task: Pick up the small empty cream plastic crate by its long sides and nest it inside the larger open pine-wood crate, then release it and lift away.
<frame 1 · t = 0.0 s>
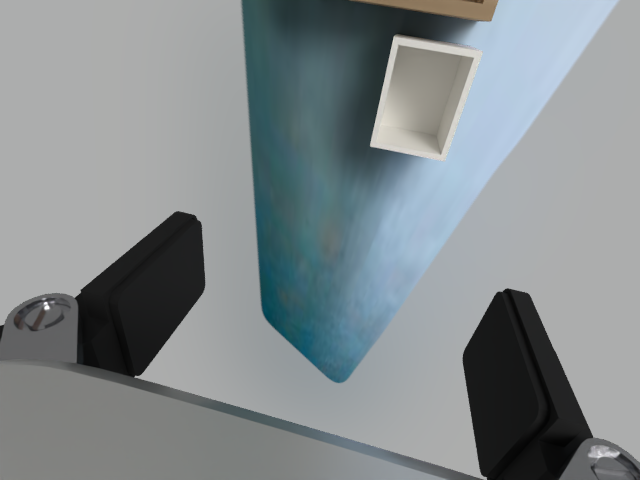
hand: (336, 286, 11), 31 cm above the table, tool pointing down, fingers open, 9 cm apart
cream crate: (419, 89, 36), on the table
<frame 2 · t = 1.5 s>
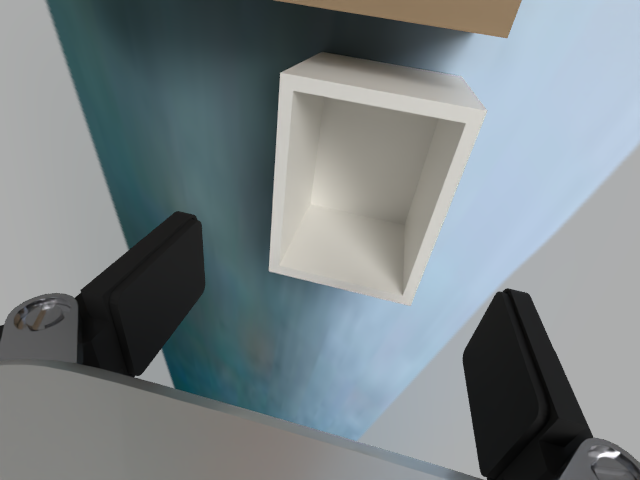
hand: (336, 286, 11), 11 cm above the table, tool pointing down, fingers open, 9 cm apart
cream crate: (371, 150, 20), on the table
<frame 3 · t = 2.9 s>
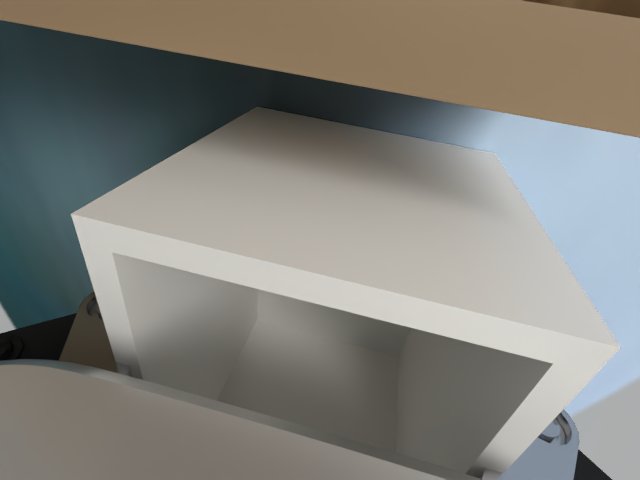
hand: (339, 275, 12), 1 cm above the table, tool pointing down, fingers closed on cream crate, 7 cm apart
cream crate: (345, 253, 13), on the table, touching gripper
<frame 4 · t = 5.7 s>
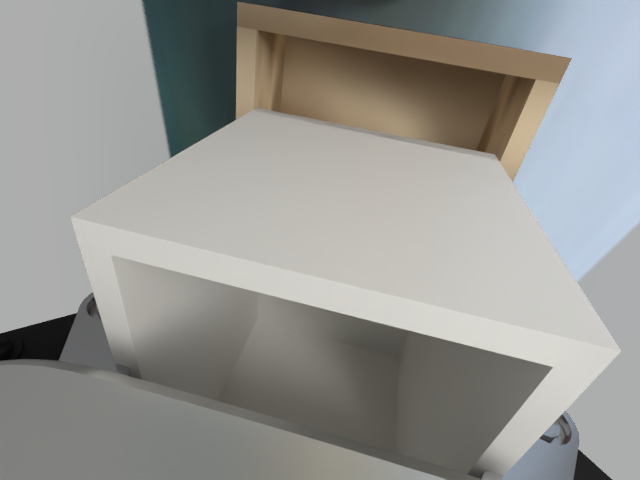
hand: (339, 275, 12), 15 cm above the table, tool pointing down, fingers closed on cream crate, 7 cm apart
pine crate: (372, 144, 24), on the table
cream crate: (344, 254, 13), point 14 cm above the table, touching gripper
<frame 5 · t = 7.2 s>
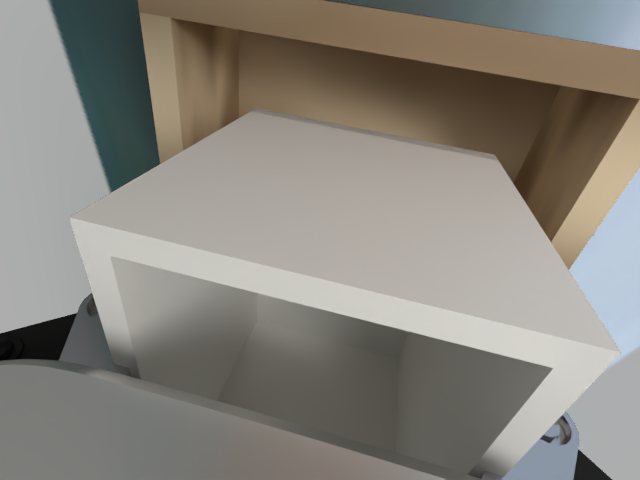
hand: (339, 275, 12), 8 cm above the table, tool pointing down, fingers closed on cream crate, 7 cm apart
pine crate: (366, 173, 18), on the table
cream crate: (344, 254, 13), point 7 cm above the table, touching gripper
when the fingers open (4 cm above the table, at t = 8.5 s): cream crate drops 2 cm, resting on pine crate.
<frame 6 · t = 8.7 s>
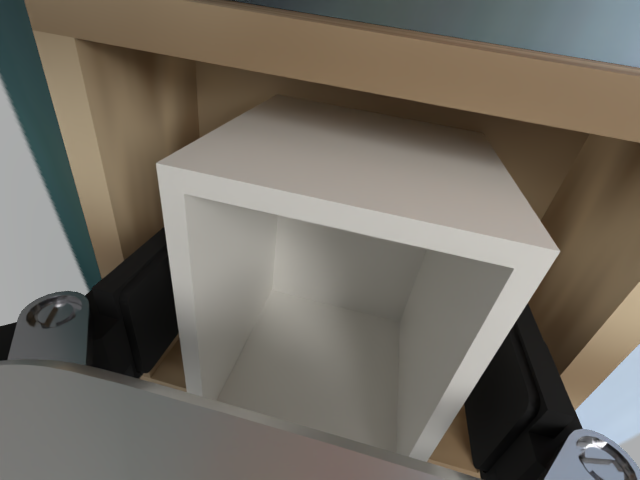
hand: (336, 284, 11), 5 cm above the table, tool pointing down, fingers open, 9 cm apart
pine crate: (355, 216, 15), on the table
cream crate: (352, 226, 14), point 1 cm above the table, touching pine crate
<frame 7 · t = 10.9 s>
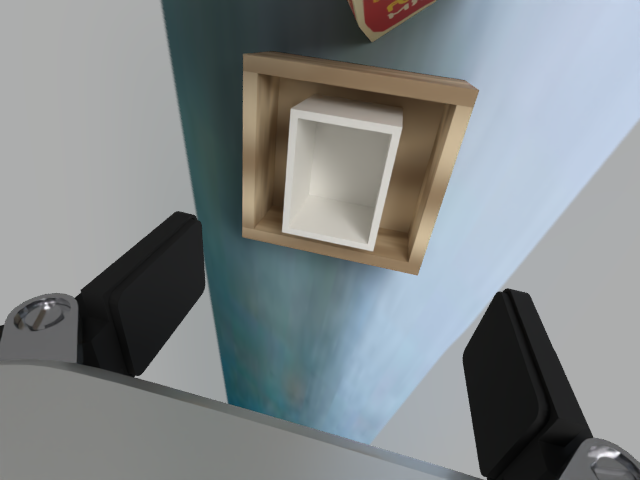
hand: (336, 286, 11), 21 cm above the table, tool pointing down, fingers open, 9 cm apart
pine crate: (350, 153, 31), on the table
cream crate: (349, 156, 30), point 1 cm above the table, touching pine crate
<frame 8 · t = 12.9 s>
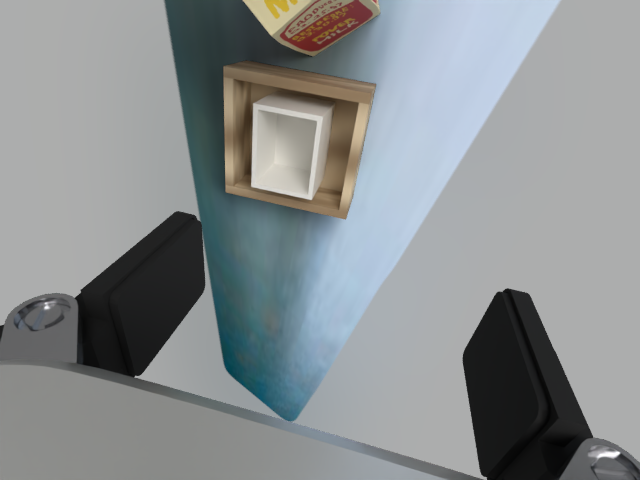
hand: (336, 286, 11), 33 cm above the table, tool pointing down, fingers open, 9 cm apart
pine crate: (303, 134, 43), on the table
cream crate: (301, 135, 42), point 1 cm above the table, touching pine crate
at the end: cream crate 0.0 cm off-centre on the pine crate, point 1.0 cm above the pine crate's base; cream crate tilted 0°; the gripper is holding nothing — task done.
